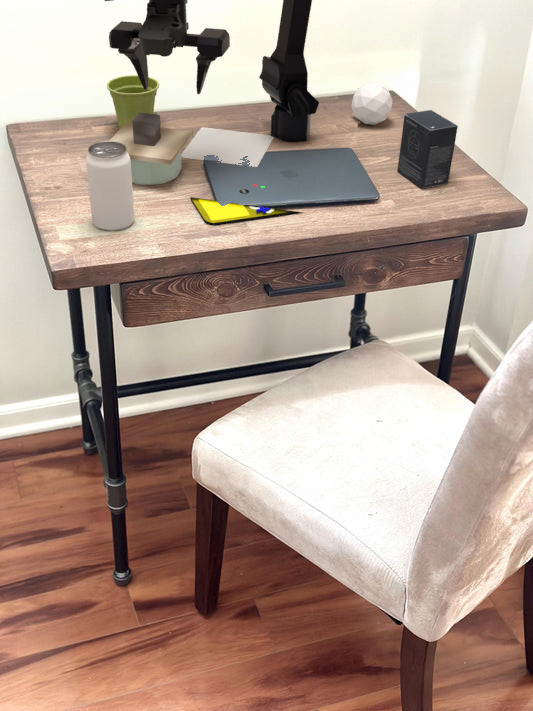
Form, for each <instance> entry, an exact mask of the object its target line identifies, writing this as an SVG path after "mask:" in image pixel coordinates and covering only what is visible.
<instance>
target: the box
mask: <svg viewBox="0 0 533 711" xmlns="http://www.w3.org/2000/svg"><path fill="white" fill-rule="evenodd" d="M402 123H403V124H402V131H401V140H400V149H399V155H398V156H399V157H398V162H397V173H399V174H401V175H402V176H403V177H405V178H406V179H408V180H409V181H410V182H412V183H413V184H415V185H416V186H418V187H419V188H420V189H429V188H434V187H439V186H446V185H448V183H449V179H450V173H451V168H452V162H453V156H454V151H455V150H454V149H455V145H456V138H457V133H458V129H459V126H458V125H457V124H456V123H454V122H452V121H450V120H449V119H448V118H445V117H444V116H442V115H440V114H438V113H437V112H436V111H434V110H432V109H429V110H421V111H416V112H409V113H405V114H404V117H403V122H402Z"/></svg>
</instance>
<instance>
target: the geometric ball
mask: <svg viewBox="0 0 533 711" xmlns="http://www.w3.org/2000/svg"><path fill="white" fill-rule="evenodd" d="M393 102H394V100H393V98H392V96H391V93H390V91H389V89H387V87H385V86H384V85H382V84H380V83H377V82H367V83H366V84H363V85H361V86H360V87H358V88H357V90H356V91H355V92H354V95H353V96H352V101H351V107H350V108H351V109H352V111H353V114H354V117H355V118H356V119H357V120H359V122H362V123H363V124H365V125H371V126H376V125H379V123H382V122H384V121H385V120H386V119H387V118H388V116H389V115H390V113H391V111H392V106H393Z"/></svg>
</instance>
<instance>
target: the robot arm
mask: <svg viewBox="0 0 533 711" xmlns="http://www.w3.org/2000/svg"><path fill="white" fill-rule="evenodd" d="M110 1H111V2H112V1H114V0H104V2H110ZM312 3H313V0H283V1H282V7H281V15H280V19H279V20H280V22H279V26H278V27H279V28H278V35H277V42H276V47H275V49H274V50H273V51H272V54H271V55H270V56H267V55H264V56H262V61H261V62H262V66H261V72H260V74H259V77H258V78H259V79H260V80H261V85H262V88H263V90H264V91H265V93H266V94H267V95H268V96H269V99H270V101H271V102H272V103H274V104H276V106H274V111H273V113H272V114H271V116H270V135H271V136H272V137H274V138H273V139H278V140H280V141H283V142H284V143H285V142H287V143H300V142H305V143H306V142H307V141H308V139H309V137H310V132H311V121H312V120H311V119H312V117H311V116H312V115H315V114H316V113H317V110H318V108H319V104H320V102H319V100H317V99H316V98H315V97H314V96H313V95H312V94H311V93H310V91H308V82H309V81H308V77H309V76H308V75H309V74H308V69H307V64H306V60H305V53H304V52H305V46H306V40H307V33H308V26H309V22H310V15H311V9H312ZM187 4H188V0H148V2H147V3H146V15H145V19H144V21H143V23H142V22H137V21H136V22H134V21H123V20H121V21H120V22H119V23H118V24H116V25H115V26H114V27H112V29H111V30H110V31H109V34H108V43H109V48H111V49H115V50H116V49H117V52H118V53H119V54H121V55H124V56H125V57H126V58H128V59H129V61H130V63H131V64H132V66H133V67H134V69H135V73H136V75H137V76H138V77H139V79H140V81H141V83H142V86H143V88H144V89H147V88H148V77H149V66H148V56H150V55H154V56H155V55H156V56H161V57H162V58H163V57H170V56H171V55H172V54H173V49H176V48H184V47H190V48H191V47H192V48H196V51H197V52H198V54H197V56H196V57H195V60H196V64H197V65H196V66H197V67H196V85H195V86H196V94H197V95H200V94H201V93H202V91H203V87H204V84H205V81H206V78H207V75H208V73H209V72H208V71H209V69H210V66H211V64H212V63H213V62H214V61H216V60H217V59H218V58H222V57H223V56H224V55H225V53H226V52H227V51H228V49H229V48H230V47H231V43H230V42H231V39H230V38H231V36H230V33H229V32H228V31H227V29H225V28H222V29H221V28H212V27H205V28H204V29H203V30H202V31H201V33H200V34H197V33H188V30H189V29H190V26H189V25H190V24H189V22H188V21H187V19H188V18H187Z"/></svg>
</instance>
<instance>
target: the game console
mask: <svg viewBox="0 0 533 711" xmlns="http://www.w3.org/2000/svg"><path fill="white" fill-rule="evenodd" d="M257 186H258V185H257V184H253V187H257ZM260 188H261V189H264V188H265V186H264V185H261V186H260ZM240 193H241V194H245V195H246V194H249V193H250V191H249V189H246V188H241V189H240V190H239V194H240ZM217 201H218V200H215V199H208V198H202V197H201V198H200V197H193V196H190V202H191V203H192V205H193V207H194V208H195V210H196V211H197V213H198V214H199V216H200V218H201V220H203V222H204V223H205V225H209V226H212V227H213V226H214V227H215V226H216V227H217V226H223V225H230V224H237V223H244V222H250V221H252V222H253V221H258V220H264V219H273V218H279V217H285V216H292V215H299V214H300V215H301V214H304V212H302V211H294V210H288V209H281V208H273V207H265V206H259V205H251V204H245V205H239V204H240V203H238V202H230V203H231V204H227V205H225V206H221V205H220V204H219V203H218V202H217Z"/></svg>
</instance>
